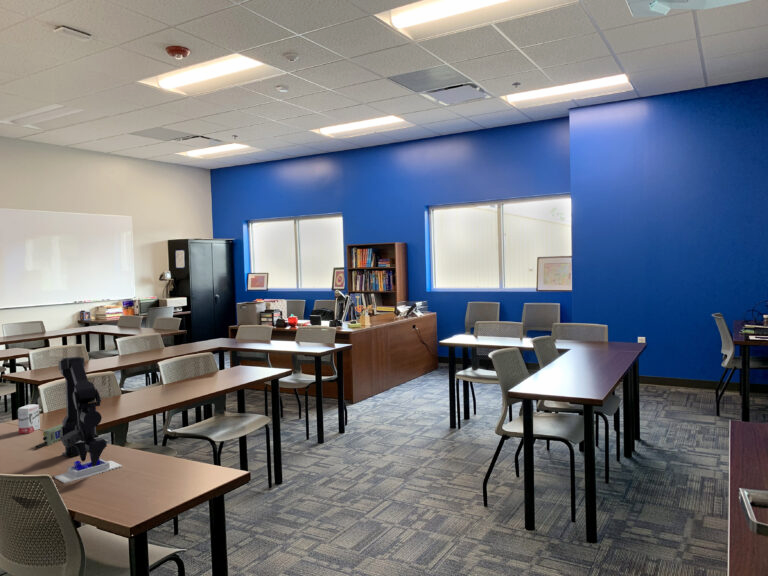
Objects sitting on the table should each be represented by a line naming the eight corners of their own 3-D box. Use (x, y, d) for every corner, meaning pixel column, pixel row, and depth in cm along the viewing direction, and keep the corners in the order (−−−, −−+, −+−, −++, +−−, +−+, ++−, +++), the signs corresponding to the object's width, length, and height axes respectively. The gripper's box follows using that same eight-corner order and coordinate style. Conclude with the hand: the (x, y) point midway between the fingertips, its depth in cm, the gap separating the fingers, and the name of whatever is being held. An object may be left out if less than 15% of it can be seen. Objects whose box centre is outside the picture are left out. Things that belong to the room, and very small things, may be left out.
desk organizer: (54, 477, 203) (54, 470, 203) (111, 462, 218) (110, 455, 218) (64, 483, 197) (64, 476, 197) (121, 466, 212) (121, 460, 212)
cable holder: (78, 474, 203) (77, 463, 203) (74, 472, 206) (74, 461, 205) (101, 468, 209) (100, 457, 209) (97, 466, 211) (97, 455, 211)
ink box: (28, 433, 259) (27, 408, 259) (18, 434, 259) (17, 408, 259) (40, 428, 268) (39, 403, 268) (30, 428, 268) (29, 403, 268)
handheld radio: (80, 432, 260) (40, 450, 235) (74, 432, 261) (32, 450, 236) (79, 418, 260) (38, 434, 235) (73, 418, 260) (31, 434, 236)
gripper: (52, 422, 207) (54, 464, 207) (73, 431, 194) (75, 475, 195) (84, 415, 215) (86, 456, 216) (106, 423, 203) (108, 466, 204)
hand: (88, 463), depth 207 cm, fingers open, 9 cm apart
